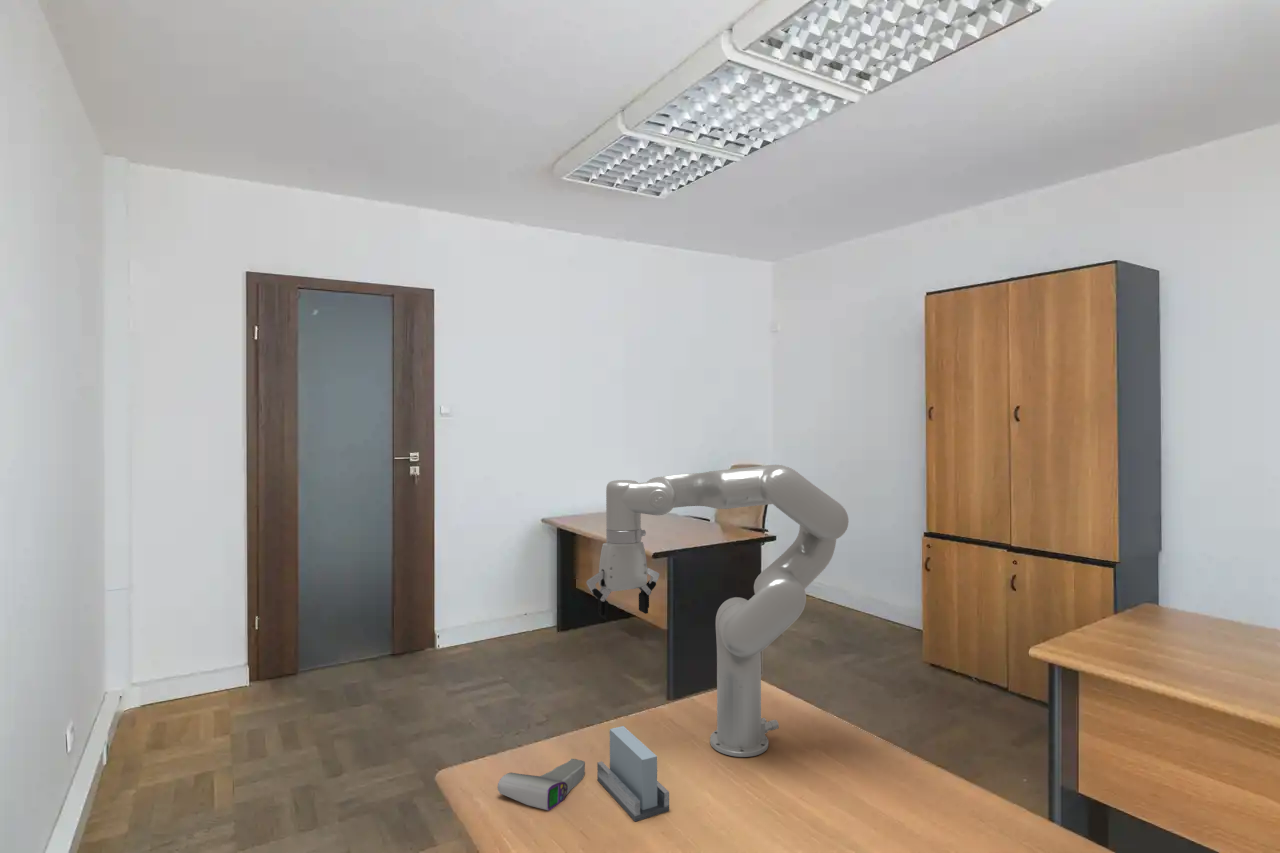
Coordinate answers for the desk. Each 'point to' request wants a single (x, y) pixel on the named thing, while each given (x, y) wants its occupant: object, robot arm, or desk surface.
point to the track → (631, 795)
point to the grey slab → (634, 766)
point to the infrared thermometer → (543, 785)
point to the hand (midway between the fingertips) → (623, 615)
